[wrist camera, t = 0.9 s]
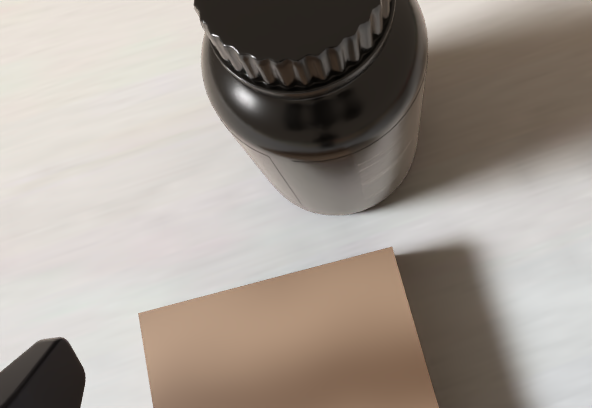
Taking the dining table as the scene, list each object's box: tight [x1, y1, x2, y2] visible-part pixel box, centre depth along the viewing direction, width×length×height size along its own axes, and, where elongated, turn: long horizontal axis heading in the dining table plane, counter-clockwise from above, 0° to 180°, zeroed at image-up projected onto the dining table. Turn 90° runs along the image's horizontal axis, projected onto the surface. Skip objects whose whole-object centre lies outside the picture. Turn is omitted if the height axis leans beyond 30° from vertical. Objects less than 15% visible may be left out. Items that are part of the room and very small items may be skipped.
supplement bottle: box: [194, 0, 428, 215], centre depth 18 cm, size 7×7×12 cm
